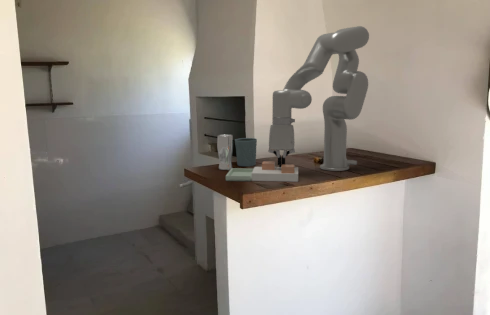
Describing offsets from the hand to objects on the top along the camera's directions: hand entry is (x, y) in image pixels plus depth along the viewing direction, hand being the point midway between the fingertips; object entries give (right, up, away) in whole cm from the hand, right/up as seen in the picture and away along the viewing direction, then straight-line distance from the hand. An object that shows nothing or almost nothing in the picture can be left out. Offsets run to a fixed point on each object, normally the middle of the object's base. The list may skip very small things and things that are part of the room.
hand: (281, 166), depth 171 cm
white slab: (-3, -4, -2) cm, 5 cm away
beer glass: (-23, -1, +17) cm, 29 cm away
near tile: (+2, -2, -6) cm, 7 cm away
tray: (-17, -4, 0) cm, 17 cm away
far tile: (-5, -1, +1) cm, 5 cm away
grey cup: (-14, 0, +25) cm, 29 cm away
